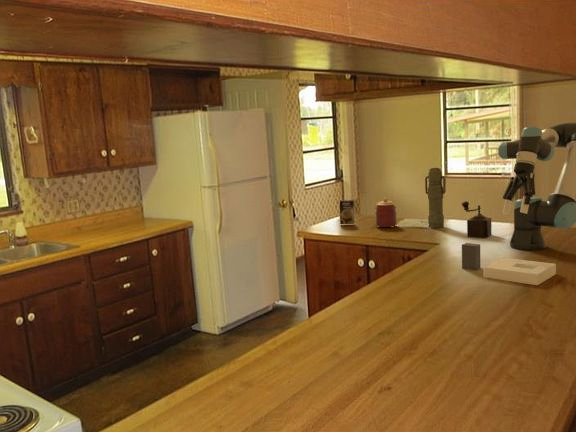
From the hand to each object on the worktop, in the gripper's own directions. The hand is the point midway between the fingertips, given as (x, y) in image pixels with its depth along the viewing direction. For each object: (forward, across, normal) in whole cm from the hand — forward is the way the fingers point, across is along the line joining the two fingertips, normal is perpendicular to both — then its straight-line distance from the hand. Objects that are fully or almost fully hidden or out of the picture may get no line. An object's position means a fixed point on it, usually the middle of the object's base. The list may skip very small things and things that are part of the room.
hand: (514, 214), depth 215 cm
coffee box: (+8, -130, -39) cm, 136 cm away
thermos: (-1, -99, +7) cm, 99 cm away
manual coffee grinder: (+3, -67, +16) cm, 69 cm away
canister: (+4, -114, -18) cm, 116 cm away
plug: (+25, -5, -10) cm, 28 cm away
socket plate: (+25, +11, +2) cm, 27 cm away
